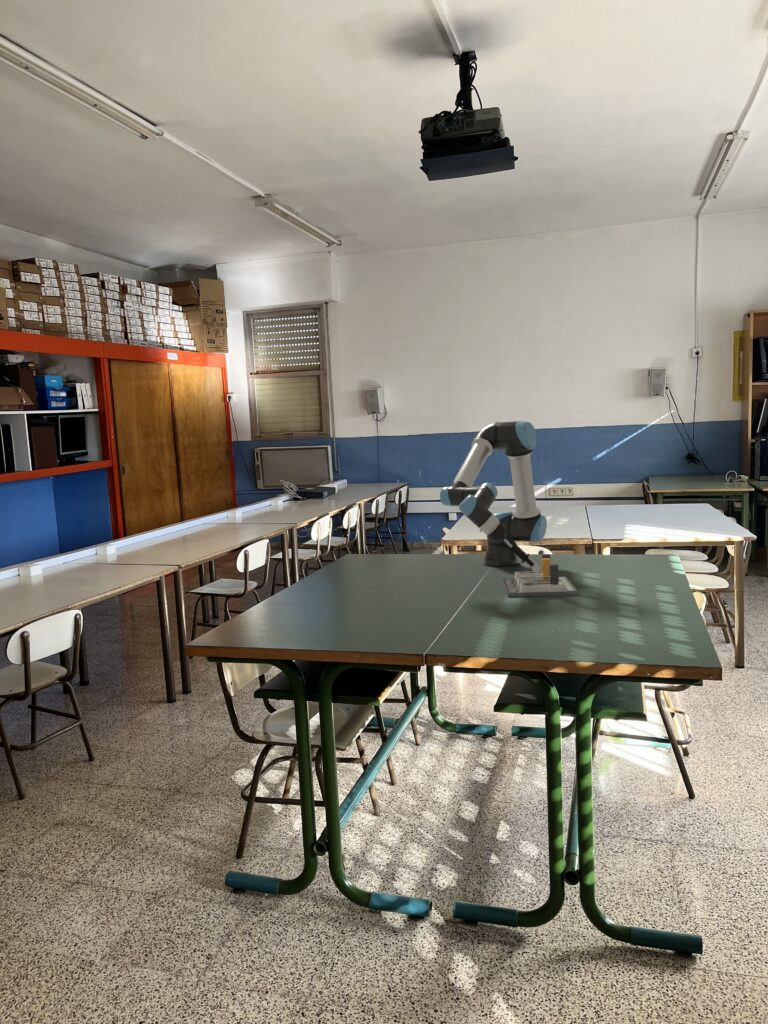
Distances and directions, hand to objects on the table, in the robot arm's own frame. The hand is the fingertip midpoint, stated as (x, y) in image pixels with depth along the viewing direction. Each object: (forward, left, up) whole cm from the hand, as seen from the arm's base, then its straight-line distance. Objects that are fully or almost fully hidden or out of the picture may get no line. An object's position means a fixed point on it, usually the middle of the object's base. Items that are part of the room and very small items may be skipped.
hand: (538, 570), depth 284 cm
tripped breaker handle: (0, +3, -3) cm, 4 cm away
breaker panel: (0, 0, -7) cm, 7 cm away
